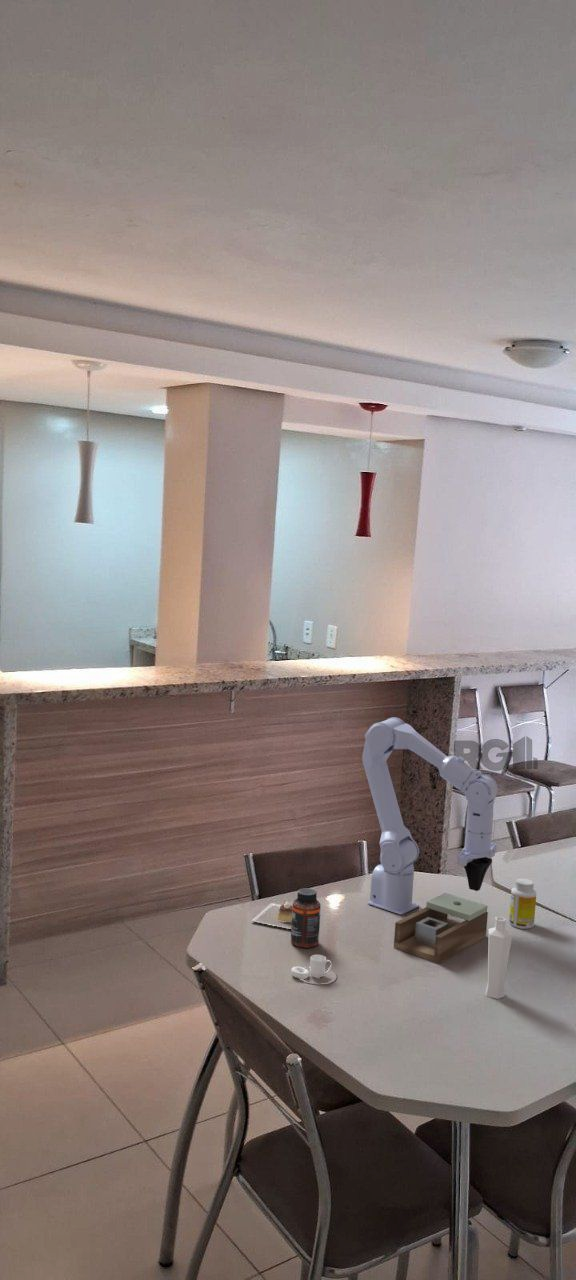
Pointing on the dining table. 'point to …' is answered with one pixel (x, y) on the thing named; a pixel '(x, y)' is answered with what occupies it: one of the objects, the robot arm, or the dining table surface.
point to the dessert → (282, 915)
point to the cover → (457, 906)
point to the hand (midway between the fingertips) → (474, 889)
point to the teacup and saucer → (312, 968)
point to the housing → (445, 942)
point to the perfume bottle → (498, 958)
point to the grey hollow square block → (429, 931)
